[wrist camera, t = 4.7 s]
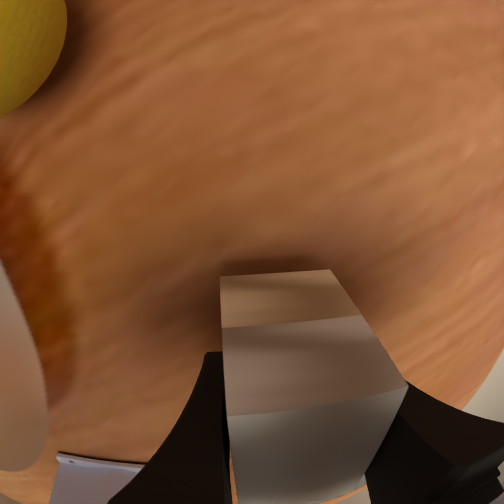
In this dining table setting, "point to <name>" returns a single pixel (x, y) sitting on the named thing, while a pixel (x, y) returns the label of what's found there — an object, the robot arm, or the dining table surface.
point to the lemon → (28, 47)
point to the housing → (302, 387)
